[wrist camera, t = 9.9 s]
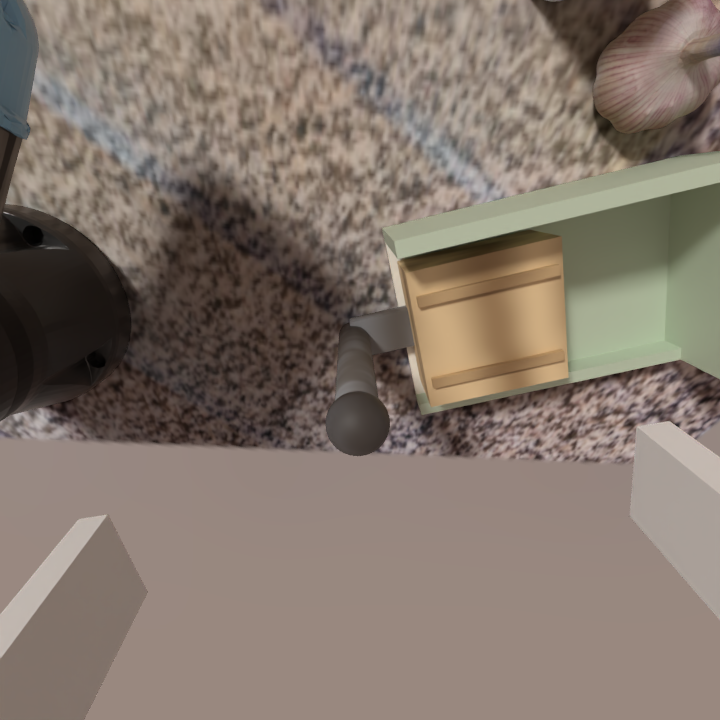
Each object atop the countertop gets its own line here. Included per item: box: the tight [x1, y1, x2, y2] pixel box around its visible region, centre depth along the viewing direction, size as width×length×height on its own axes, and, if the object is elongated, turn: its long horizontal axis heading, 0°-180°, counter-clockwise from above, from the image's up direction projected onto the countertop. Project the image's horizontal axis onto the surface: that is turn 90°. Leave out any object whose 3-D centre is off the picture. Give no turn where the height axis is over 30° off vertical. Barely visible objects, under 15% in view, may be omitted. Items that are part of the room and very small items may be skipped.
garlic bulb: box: [593, 0, 720, 134], centre depth 25 cm, size 8×7×8 cm
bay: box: [382, 151, 720, 415], centre depth 29 cm, size 22×15×9 cm
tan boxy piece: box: [326, 230, 569, 456], centre depth 26 cm, size 16×10×15 cm, turn 103°
